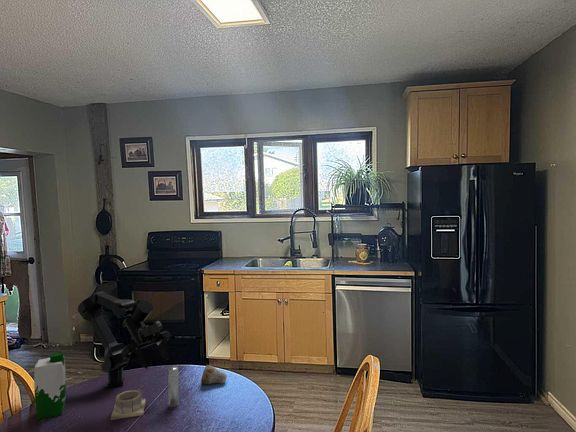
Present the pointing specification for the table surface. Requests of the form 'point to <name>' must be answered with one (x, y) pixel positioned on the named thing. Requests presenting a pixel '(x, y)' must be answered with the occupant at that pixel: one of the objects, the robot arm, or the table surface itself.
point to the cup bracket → (128, 405)
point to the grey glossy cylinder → (173, 386)
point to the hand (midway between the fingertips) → (157, 363)
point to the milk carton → (50, 386)
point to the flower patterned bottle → (213, 375)
